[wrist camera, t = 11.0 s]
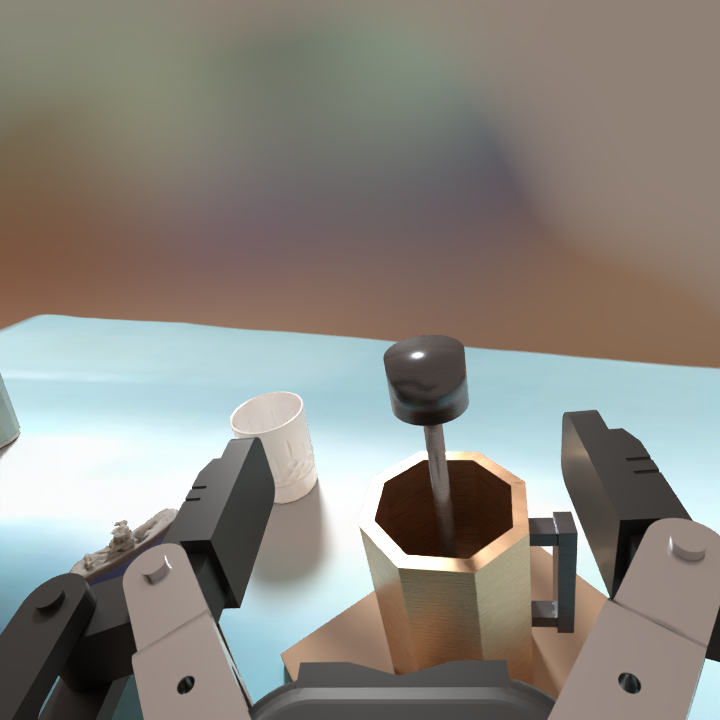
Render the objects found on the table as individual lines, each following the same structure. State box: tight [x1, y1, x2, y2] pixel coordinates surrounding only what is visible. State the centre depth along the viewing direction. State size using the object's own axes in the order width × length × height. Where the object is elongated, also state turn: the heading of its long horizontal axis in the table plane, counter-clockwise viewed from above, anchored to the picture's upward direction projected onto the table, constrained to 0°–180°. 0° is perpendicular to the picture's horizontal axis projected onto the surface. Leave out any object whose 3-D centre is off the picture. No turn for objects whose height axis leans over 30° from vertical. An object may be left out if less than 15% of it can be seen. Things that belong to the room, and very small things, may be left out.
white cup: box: [230, 392, 318, 504], centre depth 54 cm, size 8×8×10 cm
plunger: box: [384, 335, 469, 559], centre depth 30 cm, size 6×6×23 cm
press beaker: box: [359, 452, 578, 686], centre depth 32 cm, size 11×10×14 cm
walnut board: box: [280, 546, 608, 700], centre depth 36 cm, size 22×16×1 cm
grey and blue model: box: [69, 509, 178, 586], centre depth 41 cm, size 9×3×11 cm, turn 132°
